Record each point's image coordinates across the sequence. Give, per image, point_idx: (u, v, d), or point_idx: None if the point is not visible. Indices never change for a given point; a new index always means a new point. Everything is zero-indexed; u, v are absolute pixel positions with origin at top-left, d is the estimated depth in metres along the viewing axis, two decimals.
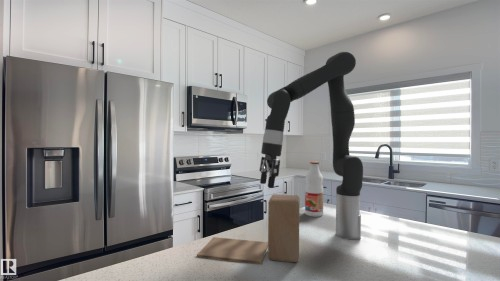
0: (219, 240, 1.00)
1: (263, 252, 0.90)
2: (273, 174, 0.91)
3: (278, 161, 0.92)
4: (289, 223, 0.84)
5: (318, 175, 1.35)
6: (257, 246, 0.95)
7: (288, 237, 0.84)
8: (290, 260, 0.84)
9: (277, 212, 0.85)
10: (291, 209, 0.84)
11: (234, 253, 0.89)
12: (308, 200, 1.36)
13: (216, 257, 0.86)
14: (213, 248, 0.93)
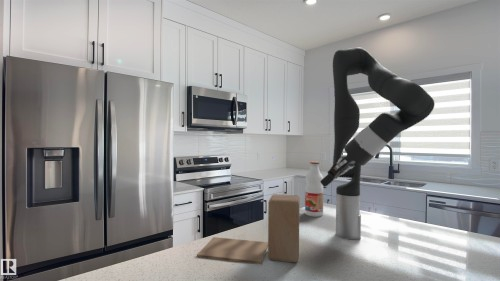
0: (219, 240, 1.00)
1: (263, 252, 0.90)
2: None
3: None
4: (289, 223, 0.84)
5: (318, 175, 1.35)
6: (257, 246, 0.95)
7: (288, 237, 0.84)
8: (290, 260, 0.84)
9: (277, 212, 0.85)
10: (291, 209, 0.84)
11: (234, 253, 0.89)
12: (308, 200, 1.36)
13: (216, 257, 0.86)
14: (213, 248, 0.93)
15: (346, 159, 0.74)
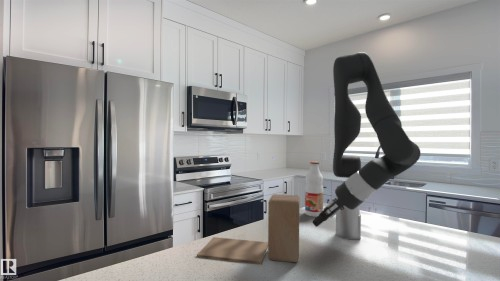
0: (219, 240, 1.00)
1: (263, 252, 0.90)
2: None
3: None
4: (289, 223, 0.84)
5: (318, 175, 1.35)
6: (257, 246, 0.95)
7: (288, 237, 0.84)
8: (290, 260, 0.84)
9: (277, 212, 0.85)
10: (291, 209, 0.84)
11: (234, 253, 0.89)
12: (308, 200, 1.36)
13: (216, 257, 0.86)
14: (213, 248, 0.93)
15: (337, 204, 0.75)
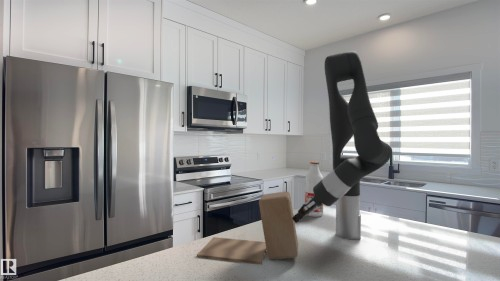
0: (219, 240, 1.00)
1: (263, 252, 0.90)
2: None
3: None
4: (282, 219, 0.84)
5: (318, 175, 1.35)
6: (257, 246, 0.95)
7: (283, 233, 0.84)
8: (289, 256, 0.84)
9: (269, 210, 0.85)
10: (282, 205, 0.84)
11: (234, 253, 0.89)
12: None
13: (216, 257, 0.86)
14: (213, 248, 0.93)
15: (314, 200, 0.79)
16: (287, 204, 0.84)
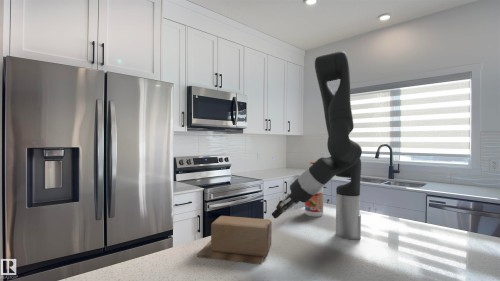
0: None
1: None
2: None
3: None
4: (229, 233, 0.88)
5: None
6: None
7: (243, 235, 0.87)
8: (265, 235, 0.86)
9: (220, 243, 0.89)
10: (217, 230, 0.89)
11: None
12: (308, 200, 1.36)
13: (216, 257, 0.86)
14: None
15: (290, 197, 0.84)
16: (217, 225, 0.89)
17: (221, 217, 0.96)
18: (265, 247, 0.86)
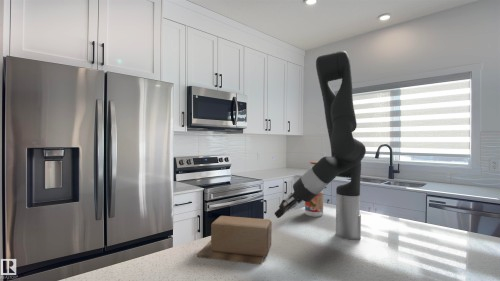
0: None
1: None
2: None
3: None
4: (229, 233, 0.88)
5: None
6: None
7: (243, 235, 0.87)
8: (265, 235, 0.86)
9: (220, 243, 0.89)
10: (217, 230, 0.89)
11: None
12: None
13: (216, 257, 0.86)
14: None
15: (293, 196, 0.83)
16: (217, 225, 0.89)
17: (221, 217, 0.96)
18: (265, 247, 0.86)
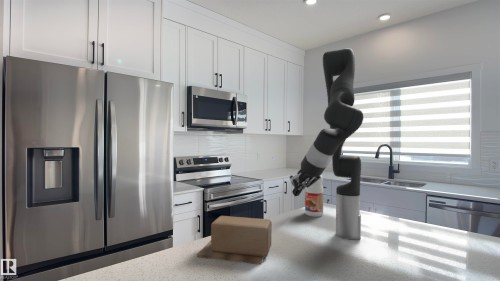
0: None
1: None
2: None
3: None
4: (229, 233, 0.88)
5: None
6: None
7: (243, 235, 0.87)
8: (265, 235, 0.86)
9: (220, 243, 0.89)
10: (217, 230, 0.89)
11: None
12: (308, 200, 1.36)
13: (216, 257, 0.86)
14: None
15: (300, 172, 0.85)
16: (217, 225, 0.89)
17: (221, 217, 0.96)
18: (265, 247, 0.86)
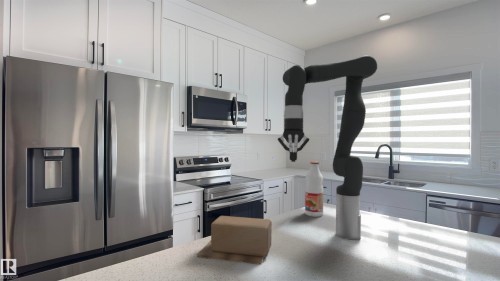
0: None
1: None
2: None
3: None
4: (229, 233, 0.88)
5: (318, 175, 1.35)
6: None
7: (243, 235, 0.87)
8: (265, 235, 0.86)
9: (220, 243, 0.89)
10: (217, 230, 0.89)
11: None
12: (308, 200, 1.36)
13: (216, 257, 0.86)
14: None
15: (284, 132, 1.04)
16: (217, 225, 0.89)
17: (221, 217, 0.96)
18: (265, 247, 0.86)
